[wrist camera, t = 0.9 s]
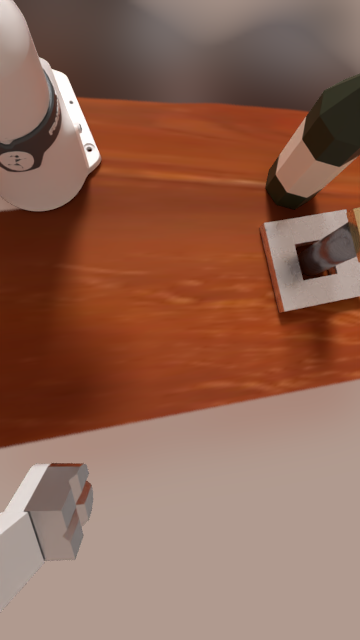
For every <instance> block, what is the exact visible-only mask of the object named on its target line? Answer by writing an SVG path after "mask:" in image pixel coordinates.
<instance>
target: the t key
mask: <svg viewBox="0 0 360 640" xmlns="http://www.w3.org/2000/svg"><path fill="white" fill-rule="evenodd" d="M346 215H347V219H348V222H347V223H346V224H344V225H343V226H341V227H340V228H338V229H336V230H335V231H333V232H332V233H330V234H329V235H327V236H325V237H324V238H322V239H321V240H319V241H318V242H316V243H314V244H313V245H311V246H310V247H308V248H306V249H305V250H303V251H302V252H301V253H300V254H299V255H298V261H299V265H300V269H301V272H302V273H303V274H305V275H307V276H314V275H316V274H318V273H321V272H323V271H325V270H327V269H330V268H332V267H334V266H336V265H339V264H341V263H343V262H345V261H348V260H350V259H352V258H354V257H356V256H357V258H358V262H360V208H355V209H352V210H351V211H349V212H348V213H346Z"/></svg>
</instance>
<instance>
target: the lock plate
mask: <svg viewBox="0 0 360 640" xmlns="http://www.w3.org/2000/svg"><path fill="white" fill-rule="evenodd" d="M346 213H347V211H346V210H340V211H334V212H328V213H322V214H316V215H310V216H304V217H298V218H292V219H286V220H280V221H274V222H268V223H264V224H263V225H262V226H261V227H260V233H261V237H262V241H263V246H264V250H265V254H266V259H267V263H268V267H269V272H270V276H271V280H272V285H273V289H274V293H275V298H276V302H277V306H278V311H279V313H281V312H286V311H291V310H296V309H301V308H306V307H311V306H316V305H321V304H325V303H330V302H335V301H340V300H345V299H350V298H355V297H360V262H358V258H357V256H356V257H354V258H352V259H350V260H348V261H345V262H343V263H341V264H339V265H336V266H334V267H332V268H330V269H329V273H330V275H329V276H324V277H318V278H313V279H308V280H303V277H302V273H301V269H300V265H299V261H298V256H297V252H296V248H295V247H299V246H305V245H310V244H314V243H316V242H318V241H319V240H321V239H322V238H324V237H325V236H327V235H329V234H330V233H332V232H333V231H335V230H336V229H338V228H340V227H341V226H343V225H344V224H346V223H347V222H348V219H347V215H346Z"/></svg>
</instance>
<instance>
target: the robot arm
mask: <svg viewBox="0 0 360 640" xmlns="http://www.w3.org/2000/svg"><path fill="white" fill-rule="evenodd" d="M89 149H91V150H92V151H91V152H88V150H89ZM100 162H101V156H100V154H99V151H98V149H97V146H96V144H95V142H94V139H93V137H92V134H91V132H90V130H89V127H88V125H87V123H86V120H85V118H84V115H83V113H82V111H81V108H80V106H79V103H78V101H77V99H76V96H75V94H74V91H73V89H72V87H71V85H70V82H69V80H68V78H67V76H66V75H65V74H63V73H61V72H58V71H56V70H52V69H51V67H50V65H49V63H48V62H47V61H45V60H44V59H42V58H39V57H38V54H37V52H36V49H35V46H34V43H33V40H32V37H31V35H30V31H29V29H28V26H27V23H26V21H25V18H24V16H23V15H22V13H21V11H20V10H19V8H18V7H17V5H16V4H15V3H14V1H13V0H0V196H1V197H2V198H3V199H5V200H6V201H7V202H9V203H10V204H12V205H14V206H16V207H18V208H21V209H24V210H29V211H47V210H52V209H55V208H58V207H60V206H62V205H64V204H66V203H67V202H69V201H70V200H71V199H73V198H74V197H75V196H76V194H77V193H78V192H79V191H80V189H81V187H82V186H83V184H84V181H85V179H86V177H87V176H88V174H89V173H90V172H92V171H93V170H94V169H95V168H96V167H97V166H98V165H99V164H100ZM88 474H89V472H88V469H87V465H86V464H72V463H71V464H70V463H67V464H64V463H62V464H61V463H52V464H35V465H33V466H32V467H31V468H30V469H29V471H28V473H27V475H26V476H25V478H24V479H23V481H22V483H21V484H20V486H19V488H18V489H17V491H16V492H15V494H14V496H13V497H12V499H11V500H10V502H9V504H8V505H7V507H6V509H5V510H4V512H0V613H1V611H2V610H3V609H4V608H5V607H6V606H7V605H8V604H9V602H10V601H11V600H12V599H13V598H14V597H15V596H16V595H17V593H18V592H19V591H20V590H21V589H22V588H23V586H24V585H25V584H26V583H27V582H28V581H29V580H30V579H31V577H32V576H33V575H34V574H35V573H36V572H37V571H38V570H39V568H40V567H41V566H42V565H43V564H44V561H50V560H51V561H53V560H75V559H76V556H77V553H78V550H79V547H80V544H81V541H82V538H83V532H82V526H83V525H84V524H85V523H86V522H87V521H88V520H89V517H90V514H91V511H92V503H93V490H92V485H91V484H90V483H89V482H88V481H86V480H87V477H88Z"/></svg>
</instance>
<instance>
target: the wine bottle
mask: <svg viewBox="0 0 360 640" xmlns="http://www.w3.org/2000/svg"><path fill="white" fill-rule="evenodd" d="M359 155H360V74H358V75H355V76H353V77H350V78H347V79H345V80H343V81H341V82H339V83H337V84H335V85H334V86H332V87H330V88H328V89H326V90H324V92H323V93H322V94H321V96H320V97H319V99H318V100H317V102H316V103H315V105H314V106H313V107H312V109H311V111H310V112H309V113H308V115H307V116H306V118H305V119H304V120H303V122H302V123H301V125H300V126H299V128H298V129H297V131H296V132H295V133H294V135H293V136H292V138H291V139H290V141H289V142H288V144H287V145H286V146H285V148H284V149H283V151H282V152H281V154H280V155H279V157H278V158H277V159H276V161H275V162H274V164H273V165H272V167H271V168H270V170H269V173H268V178H267V183H266V190H267V191H268V193H269V195H270V196H271V198H272V199H273V201H274V202H275V204H276V205H279V206H283V207H287V208H290V209H294V210H295V209H296V208H298V207H299V206H301V205H303V204H304V203H306V202H308V201H309V200H311V199H312V198H313V197H314V196H315V195H316V194H317V193H318V192H319V191H320V190H322V189H323V188H324V187H325V186H326V185H327V184H328V183H329V182H330V181H331V180H333V179H334V178H335V177H336V176H337V175H338V174H339V173H340V172H341V171H342V170H344V169H345V168H346V167H347V166H348V165H349V164H350V163H351V162H352V161H353V160H355V159H356V158H357V157H358V156H359Z"/></svg>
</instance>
